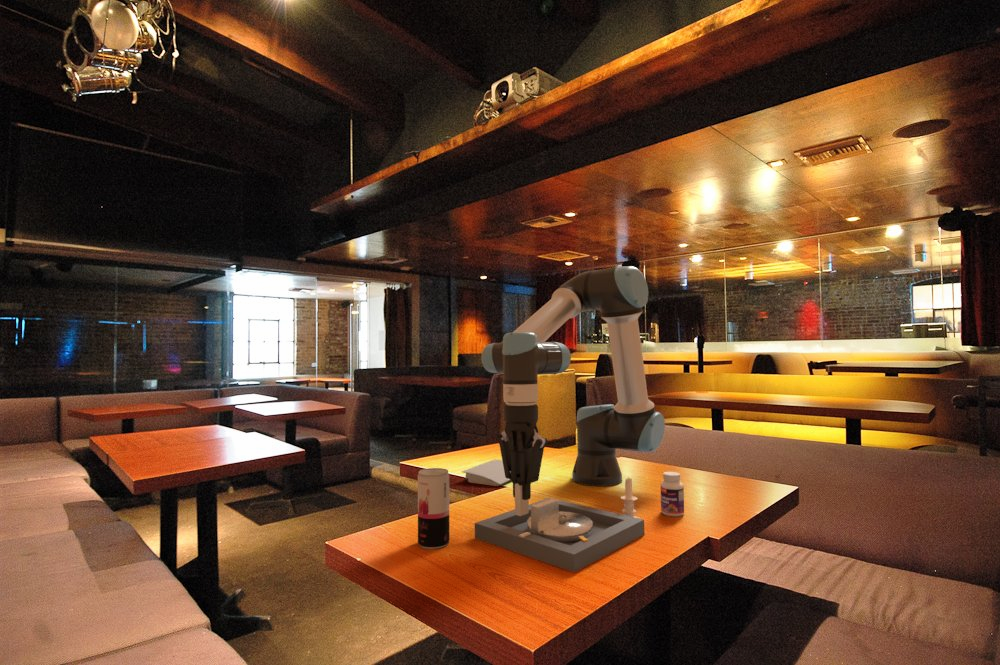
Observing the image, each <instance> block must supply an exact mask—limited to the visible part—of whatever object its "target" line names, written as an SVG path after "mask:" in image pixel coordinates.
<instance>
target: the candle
mask: <svg viewBox="0 0 1000 665" xmlns="http://www.w3.org/2000/svg"><path fill="white" fill-rule="evenodd" d="M624 481H625V482H624V483H625V484H624V485H625V486H624V488H625V489H624V491H625V492H624V495H622V496H620V499H621V500H623V501H624V502H623V506H624V508H622V514H624V515H626V516H631V517H635V518H639V519H641V518H640V517H639V516H635V515H636V513H637V510H636V509H635V503H634V502H635V501H637V500H638V497H636V496H635V495H634V496H633V481H632V478H631V477H629V476H627V478H625V480H624Z"/></svg>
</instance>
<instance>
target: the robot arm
mask: <svg viewBox="0 0 1000 665" xmlns="http://www.w3.org/2000/svg"><path fill="white" fill-rule="evenodd" d="M648 300H649V286H648V283H647V280H646V278H645V276H644V274H643V272H641V270H640V269H638V267H635V266H632V265H629V266H627V265H626V266H615V267H610V268H605V269H604V268H603V269H594V270H587V271H585V272H581V273H579V274H577V275H575V276H573V277H572V278H570V279H569V280H567V281H566V282H564V283H563V284H561V285H560V286H559V287H558V288H557V289H556V290H555V291H553V293H552V294H551V299H549V301H547V302H546V303H545V304H544V305H542V306H541V307H540V308H539V309H538V310H537V311H535V313H533V314H532V315H530V317H528V319H526V320H525V321H523V323H522V324H521V325H519V326H518V327H517V328H516V329H515V330H513V332H507V333H505V334H504V335H503V338H502V339H503V340H502V341H501V342H493V343H489V344H487V345H485V347H484V348H483V349H482V352H481V356H480V358H481V364H482V366H483V369H485V371H487V372H488V373H491V374H499V375H502V374H503V375H502V376H503V377H502V378H503V380H502V383H503V384H502V388H503V391H502V392H503V393H502V394H503V399H502V400H503V402H504V403H505V404H504V405H503V408H502V409H503V412H502V413H503V416H502V417H503V421H504V422H505V425H504V430H503V431H502V432H501V433H496V435H495V437H496V441H497V442H498V444H499V449H500V455H501V460H502V461H503V467H504V472H505V477H506V478H507V479H508V478H509V479H510V481H511V483H512V496H513V498H514V509H515V515H518V516H522V515H525V514H528V513H529V504H530V503H529V501H530V499H531V497H532V496H531V490H532V488H531V487H532V486H531V484H532V483H535V482H538V481H539V478H540V473H541V468H542V462H543V461H542V460H543V455H544V451H545V450H544V449H545V448H546V445H547V444H548V438H547V437H542V436H541V435H540V434H539V429H538V427H537V422H538V421H539V406H538V404H537V402H538V401H539V388H538V386H539V384H538V375H539V376H541V375H544V376H545V375H557V374H562V373H564V372H566V371H567V370H568V369H569V366H570V365H571V362H572V360H571V359H572V355H571V351H570V349H569V348H568V346H566V345H565V344H563V343H562V342H556V341H547V340H548V339H549V338H550V337H551V336H552V335H554V333H555V332H556V331H557V330H558V329H560V328H561V327H562V326H563V325H564V324H565V323H566V322H567V321H568V320H569V319H573V318H576V317H577V316H578V315H579V314H581V313H583V312H584V313H585V312H589V311H599V312H600V319H602V320H603V321H605V322H606V324H607V330H608V331H607V332H608V338H609V339H608V340H609V346H610V352H611V353H610V354H611V361H612V367H613V375H614V376H613V377H614V382H615V390H616V396H617V397H616V398H617V402H616V403H615V405H614V404H611V403H609V404H608V403H607V404H600V405H599V404H598V405H589V406H588V405H587V406H583V407H580V408H578V409H577V413H576V421H575V422H576V436H577V438H576V440H577V455H576V459H575V462H574V465H573V468H572V469H573V470H572V473H571V474H572V481H573V482H574V483H578V484H579V485H580V484H581V485H586V486H596V487H599V486H600V487H604V486H605V487H607V486H614V485H618V484H620V483H622V481H623V475H622V474H623V473H622V471H621V467H620V465H619V461H618V459H617V456H616V453H617V452H616V449H617V450H622V451H624V450H625V451H630V452H631V451H632V452H638V453H654V452H656V451H657V450H658V449H659V448H660V445H661V444H662V442H663V439H664V436H665V429H666V422H665V420H666V419H665V417H664V415H663V414H662V413H661V412H659V411H656V407H655V403H654V402H653V401H652V400H651V399H650V398H649V395H648V389H647V379H646V372H645V365H644V357H643V348H642V341H641V333H640V325H639V318H640V316H641V314H643V307H645V306H646V305H647V303H648Z"/></svg>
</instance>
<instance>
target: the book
mask: <svg viewBox="0 0 1000 665" xmlns="http://www.w3.org/2000/svg"><path fill="white" fill-rule="evenodd" d="M461 473H465V479H467V482H469V483H471V484H479V485H485V486H486V485H487V486H493V487H499V486H501V485H503V484H507V483H508V482H510V481H511V480H510V479H509V478H508V479H507V478H506V477H505V472H504V467H503V461H502V459H495V458H494V459H493V460H489V461H487V462H484V463H482V464H478V465H476V466H473V467H470V468H467V469H464V470H463V471H462V470H461Z"/></svg>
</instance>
